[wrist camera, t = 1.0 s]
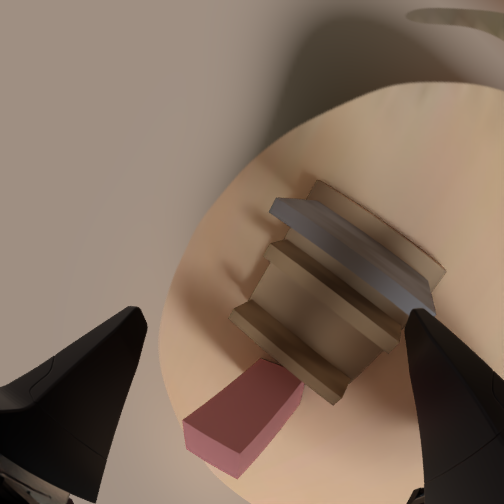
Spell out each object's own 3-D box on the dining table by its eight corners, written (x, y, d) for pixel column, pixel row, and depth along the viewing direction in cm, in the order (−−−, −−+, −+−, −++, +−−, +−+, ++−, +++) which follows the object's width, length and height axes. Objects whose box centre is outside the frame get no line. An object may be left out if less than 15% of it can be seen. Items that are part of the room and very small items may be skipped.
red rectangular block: (306, 375, 21) (239, 453, 13) (299, 403, 22) (237, 479, 13) (260, 358, 23) (182, 420, 15) (257, 386, 24) (186, 448, 16)
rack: (444, 268, 15) (463, 301, 9) (345, 382, 19) (314, 440, 13) (321, 181, 18) (276, 168, 12) (250, 305, 23) (193, 336, 17)
